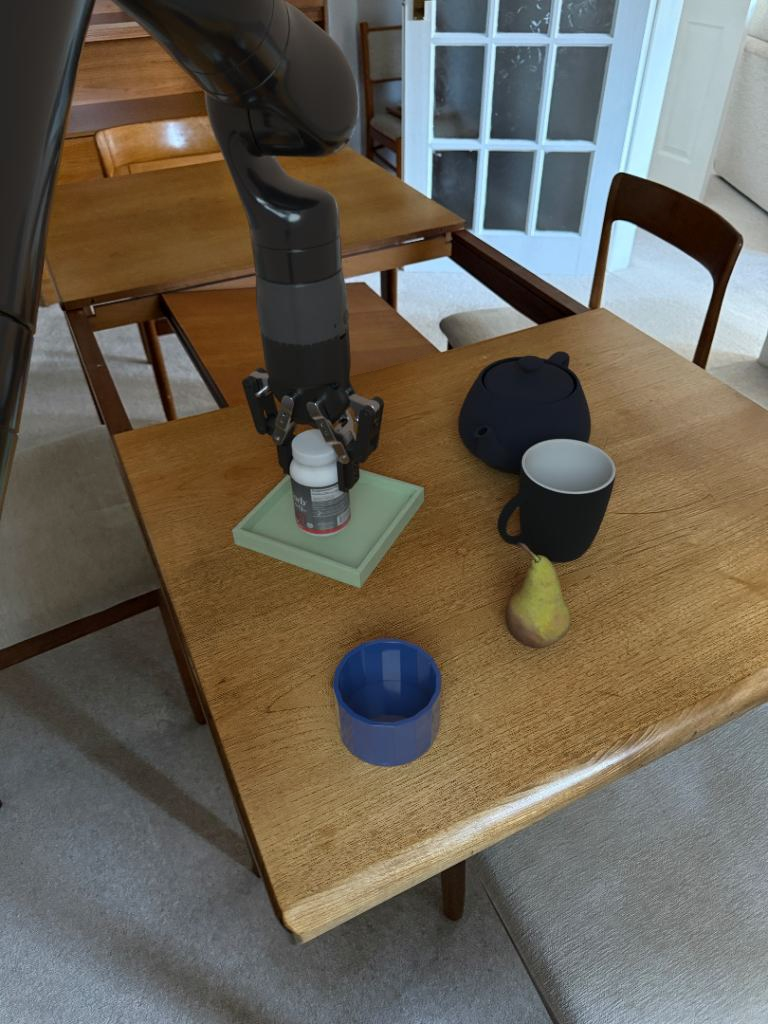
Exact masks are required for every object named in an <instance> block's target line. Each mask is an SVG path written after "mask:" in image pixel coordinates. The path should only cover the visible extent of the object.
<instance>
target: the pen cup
mask: <svg viewBox="0 0 768 1024" xmlns="http://www.w3.org/2000/svg"><path fill="white" fill-rule="evenodd" d="M332 693H333V701H334V710H335V719H336V720H335V721H336V726H337V729H338V734H339V737H340V739H341V743H343V745H344V746H345V748H346V749H347V750H348V752H350V754H352V755H353V756H354V757H356V758H357V759H358V760H360V761H362V762H364V763H366V764H369V765H372V766H377V767H384V768H388V767H389V768H391V767H399V766H403V765H407V764H410V763H412V762H415V761H416V760H417V759H419V758H421V757H422V756H423V755H425V753H427V752H428V751H429V750H430V748H432V746H433V744H434V743H435V741H436V740H437V736H438V734H439V731H440V718H441V697H442V696H441V694H442V673H441V671H440V669H439V666H438V665H437V662H436V660H435V659H434V657H433V656H432V655H431V654H429V653H428V652H427V651H426V650H424V648H422V646H420V645H418V644H415V643H412V642H409V641H407V640H405V639H402V638H385V637H384V638H378V639H373V640H370V641H369V640H368V641H366V642H362V643H360V644H359V645H357V646H355V647H354V648H352V649H351V650H349V651H348V652H347V653H345V654H344V656H343V657H342V659H341V660H340V661H339V663H338V664H337V666H336V667H335V669H334V675H333V682H332Z"/></svg>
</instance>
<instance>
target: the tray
mask: <svg viewBox="0 0 768 1024" xmlns="http://www.w3.org/2000/svg"><path fill="white" fill-rule="evenodd" d="M359 473H360V478H359V480H358V482H357V483H356V484H355V485H354V486H353V488H352V489H350V490H349V495H350V509H351V518H350V522H349V524H348V525H347V527H346V528H345V529H344V530H342V531H341V532H339V533H337V534H335V535H332V536H326V537H317V536H312V535H309V534H307V533H305V532H303V531H302V530H301V529H300V528H299V527H298V525H297V522H296V518H295V509H294V501H293V493H292V485H291V478H290V476H289V475H285V477H283V478H282V479H281V480H280V481H279V482H278V484H276V485H275V487H273V489H272V490H271V491H269V493H268V494H266V495H265V496H264V497H263V498H262V499H261V500H260V501H259V502H258V503H257V504H256V506H254V508H252V509H251V510H250V511H249V513H247V514H246V515H245V516H244V517H243V518H242V519H241V520H240V522H239V523H237V524H236V525H235V527H233V529H231V532H232V536H233V542H234V545H236V546H239V547H243V548H245V549H247V550H251V551H253V552H256V553H259V554H261V555H264V556H266V557H267V556H268V557H270V558H273V559H276V560H279V561H280V562H284V563H286V564H290V565H292V566H295V567H298V568H301V569H304V570H307V571H310V572H313V573H315V574H318V575H321V576H324V577H326V578H329V579H333V580H335V581H337V582H341V583H344V584H346V585H348V586H351V587H354V588H357V589H361V588H362V587H363V586H364V584H365V583H366V581H368V579H369V577H370V576H371V574H372V573H373V572H374V571H375V569H376V568H377V566H378V565H379V564H380V562H381V561H382V559H383V558H384V557H385V555H386V554H387V553H388V552H389V550H390V549H391V547H392V546H393V545H394V543H395V542H396V541H397V539H398V538H399V536H400V535H401V534H402V532H403V531H404V529H405V528H406V527H407V526H408V524H409V523H410V522H411V520H412V519H413V517H415V514H416V513H417V512H418V510H420V508H421V507H422V505H423V504H424V502H425V487H423V486H421V485H417V484H413V483H410V482H406V481H403V480H399V479H396V478H392V477H390V476H385V475H382V474H379V473H375V472H371V471H368V470H365V469H362V468H359Z"/></svg>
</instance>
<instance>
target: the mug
mask: <svg viewBox="0 0 768 1024" xmlns="http://www.w3.org/2000/svg"><path fill="white" fill-rule="evenodd" d="M616 469H617V468H616V464H615V462H614V461H613V459H612V458H611V457H610V455H608V454H607V452H605V451H604V450H602V449H601V448H599V447H598V446H596V445H593V444H590V443H589V442H588V443H585V442H582V441H577V440H570V439H553V440H547V441H543V442H540V443H538V444H536V445H534V446H532V447H531V448H529V449H528V450H527V451H526V452H525V454H524V455H523V458H522V461H521V467H520V475H519V482H518V492H517V493H515V495H513V496H512V497H511V498H510V499H509V500H508V501H507V502H506V503H505V505H504V507H502V509H501V511H500V513H499V516H498V517H497V524H496V525H497V532H498V534H499V537H500V538H501V539H502V540H503V541H504V542H506V543H507V544H510V545H515V546H517V543H518V542H520V543H523V544H524V545H526V546H527V547H528V549H529V550H530V551H531V552H532V553H533V554H535V555H536V556H538V555H541V556H544V557H546V558H547V559H548V560H549V561H550V562H551V563H569V562H573V561H576V560H578V559H579V558H581V557H582V556H583V555H584V554H586V552H587V551H588V550H589V549H590V548H591V546H592V545H593V542H594V541H595V539H596V538H597V535H598V532H599V530H600V528H601V526H602V523H603V520H604V518H605V515H606V512H607V509H608V506H609V503H610V499H611V496H612V492H613V489H614V485H615V480H616V475H617V470H616ZM517 509H518V514H519V515H518V518H519V525H520V533H519V534H517V535H511V534H508V530H507V526H508V523H509V522H510V518H511V517H512V515H513V514H514V512H515V511H516V510H517Z"/></svg>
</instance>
